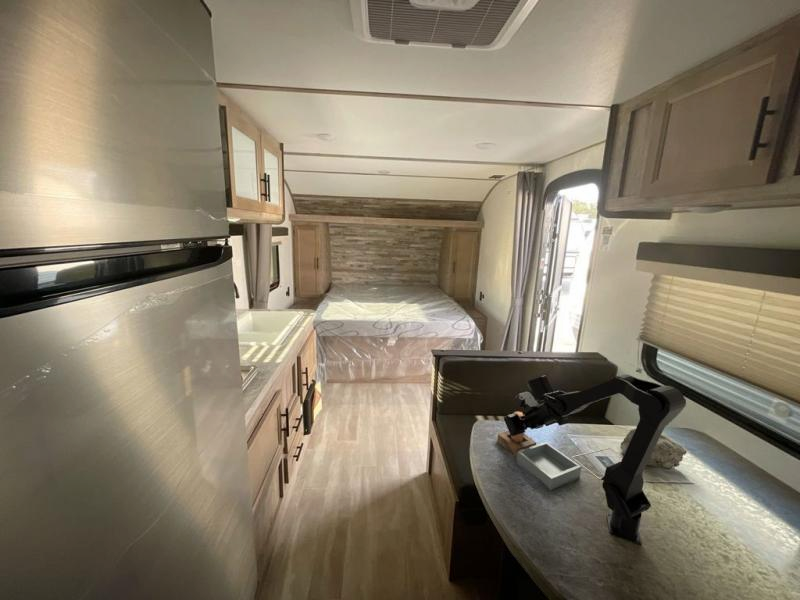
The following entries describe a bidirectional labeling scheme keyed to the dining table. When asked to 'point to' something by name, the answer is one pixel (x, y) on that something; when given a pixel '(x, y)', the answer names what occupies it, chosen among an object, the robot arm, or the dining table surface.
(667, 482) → the dining table surface
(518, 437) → the dowel
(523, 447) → the socket block
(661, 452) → the stone
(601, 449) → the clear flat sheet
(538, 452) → the tray
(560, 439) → the dining table surface
